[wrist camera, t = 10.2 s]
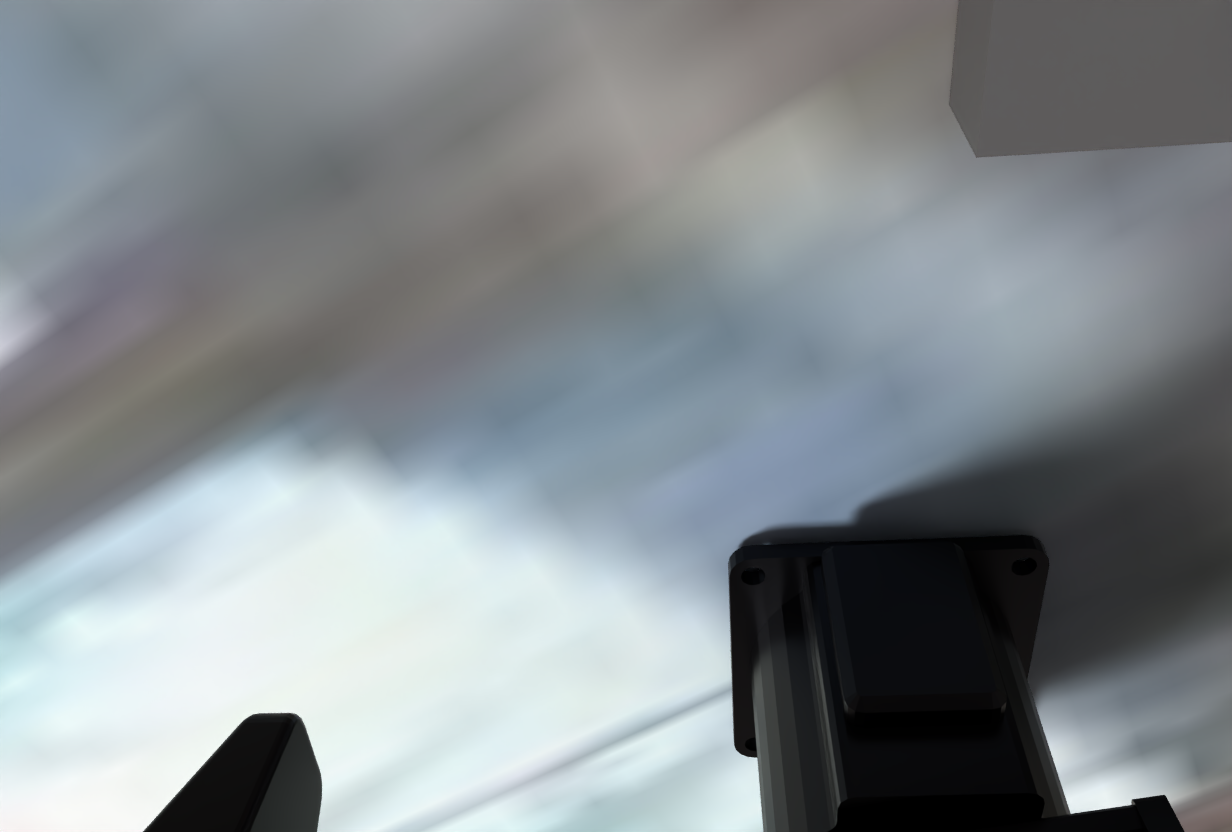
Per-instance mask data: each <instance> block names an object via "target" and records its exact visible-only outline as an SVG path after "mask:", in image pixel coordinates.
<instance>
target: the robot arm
mask: <svg viewBox="0 0 1232 832" xmlns="http://www.w3.org/2000/svg"><path fill="white" fill-rule="evenodd" d="M1025 557H1027V558H1028V559H1026V560H1025V561H1020V562H1015V561H1016V560H1018V559H1020V558H1025ZM753 567H754V568H760V570H758V571H754V572H750V571H745V570H746V569H748V568H753ZM1048 569H1049V558H1048V556H1047V553H1046V551H1045V548H1044V545H1043V544H1042V543H1041V541H1040V540H1039V539H1037V538H1035V537H1033V536H1026V535H1011V536H985V537H959V538H933V539H907V540H881V541H855V542H829V543H803V544H777V545H752V546H746V547H742V548H740V549H738V550H736V551H735V552H734V553H733V554H732V555H731V556H730V559H729V563H728V572H729V604H730V636H731V668H732V700H733V732H734V745H735V748H736V750H737V751H738V752H739V753H740V754H742V755H745V756H747V757H757V758H758V770H759V782H760V795H761V807H762V819H763V831H764V832H1184V830H1183V828H1182V826H1181V824H1180V822H1179V820H1178V818H1177V817H1176V815H1175V813H1174V811H1173V809H1172V807H1171V805H1170V803H1169V801H1168V799H1167V798H1166V796H1165V795H1160V796H1153V797H1146V798H1139V799H1132V805H1129V806H1122V807H1115V808H1108V809H1102V810H1095V811H1088V812H1081V813H1074V814H1070V811H1069V808H1068V805H1067V801H1066V798H1065V795H1064V792H1063V789H1062V786H1061V783H1060V780H1059V777H1058V774H1057V770H1056V767H1055V764H1054V761H1053V758H1052V755H1051V752H1050V749H1049V746H1048V743H1047V740H1046V736H1045V733H1044V730H1043V727H1042V724H1041V721H1040V718H1039V715H1038V712H1037V709H1036V706H1035V702H1034V699H1033V696H1032V693H1031V690H1030V687H1029V684H1028V681H1027V677H1028V672H1029V667H1030V662H1031V657H1032V652H1033V647H1034V641H1035V636H1036V631H1037V626H1038V621H1039V616H1040V610H1041V605H1042V600H1043V595H1044V590H1045V585H1046V580H1047V574H1048ZM321 799H322V780H321V773H320V770H319V767H318V764H317V761H316V758H315V755H314V752H313V749H312V746H311V743H310V740H309V737H308V734H307V731H306V728H305V725H304V723H303V721H302V719H301V718H300V717H299V716H298V715H297V714H293V713H259V714H253V715H251V716H249V717H248V718H246V719H245V720H244V721H243V722H242V723H241V724H240V725H239V726H238V727H237V728H236V729H235V730H234V731H233V732H232V734H231V735H230V736H229V737H228V738H227V739H226V740H225V741H224V742H223V744H222V745H221V746H220V747H219V748H218V749H217V750H216V751H215V752H214V754H213V755H212V756H211V757H210V758H209V759H208V760H207V761H206V762H205V764H204V765H203V766H202V767H201V768H200V769H199V770H198V771H197V772H196V774H195V775H194V776H193V777H192V778H191V779H190V780H189V781H188V782H187V784H186V785H185V786H184V787H183V788H182V789H181V790H180V791H179V792H178V794H177V795H176V796H175V797H174V798H173V799H172V800H171V801H170V802H169V804H168V805H167V806H166V807H165V808H164V809H163V810H162V811H161V812H160V814H159V815H158V816H157V817H156V818H155V819H154V820H153V821H152V822H151V824H150V825H149V826H148V827H147V828H146V829H145V830H144V831H143V832H317V828H318V821H319V814H320V807H321Z"/></svg>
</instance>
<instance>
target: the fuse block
mask: <svg viewBox="0 0 1232 832" xmlns="http://www.w3.org/2000/svg"><path fill="white" fill-rule="evenodd" d="M949 106H950V107H951V109H952V111H953V113H954V115H955V117H956V119H957V121H958V123H959V125H960V127H961V129H962V131H963V133H964V135H965V137H966V139H967V141H968V142H969V144H970V146H971V148H972V150H973V152H974V154H975V156H976V157H992V156H1008V155H1025V154H1041V153H1058V152H1074V151H1090V150H1107V149H1123V148H1140V147H1156V146H1172V145H1189V144H1205V143H1222V142H1232V0H959V4H958V15H957V25H956V36H955V47H954V57H953V68H952V79H951V89H950V100H949Z"/></svg>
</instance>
